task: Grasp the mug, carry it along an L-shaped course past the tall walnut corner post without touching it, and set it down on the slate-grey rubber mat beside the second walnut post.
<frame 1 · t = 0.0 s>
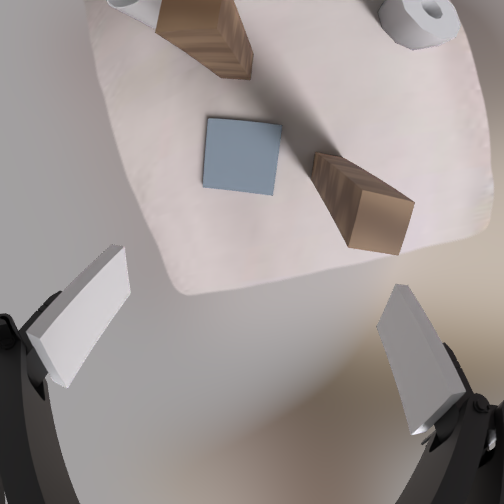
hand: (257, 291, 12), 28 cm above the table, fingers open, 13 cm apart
mug: (177, 15, 27), on the table
toilet tissue: (413, 26, 24), on the table
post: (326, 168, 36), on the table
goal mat: (241, 155, 36), on the table
corner post: (237, 65, 31), on the table
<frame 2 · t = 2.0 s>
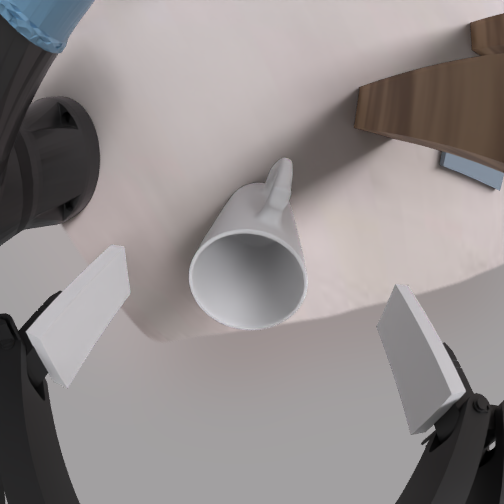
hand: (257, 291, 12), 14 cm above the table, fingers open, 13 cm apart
mug: (265, 198, 25), on the table
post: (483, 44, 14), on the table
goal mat: (479, 135, 19), on the table
corner post: (377, 112, 20), on the table
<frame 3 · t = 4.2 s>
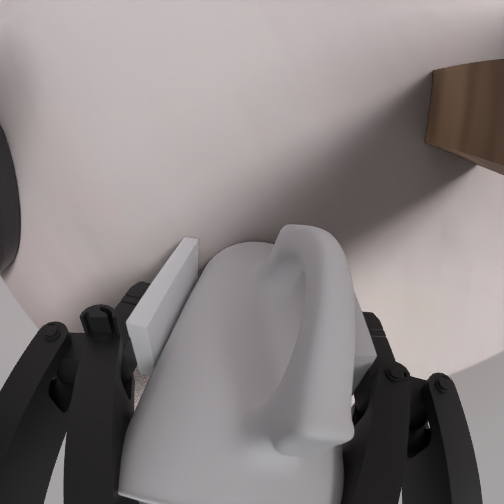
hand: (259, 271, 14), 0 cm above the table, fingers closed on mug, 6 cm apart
mug: (267, 266, 15), on the table, touching gripper
corner post: (459, 118, 10), on the table
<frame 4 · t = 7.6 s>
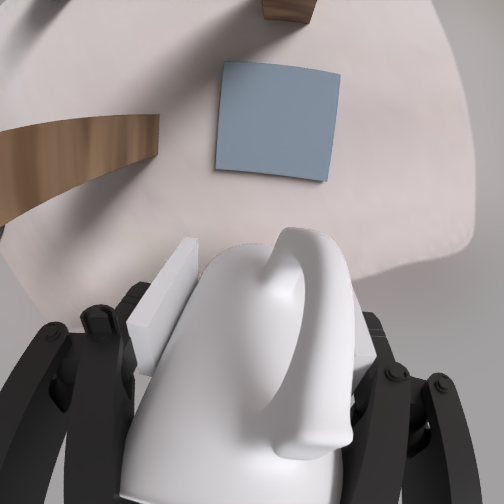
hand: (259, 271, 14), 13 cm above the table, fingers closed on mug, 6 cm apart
mug: (267, 268, 15), point 12 cm above the table, touching gripper
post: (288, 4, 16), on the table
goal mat: (277, 118, 22), on the table
corner post: (140, 135, 23), on the table
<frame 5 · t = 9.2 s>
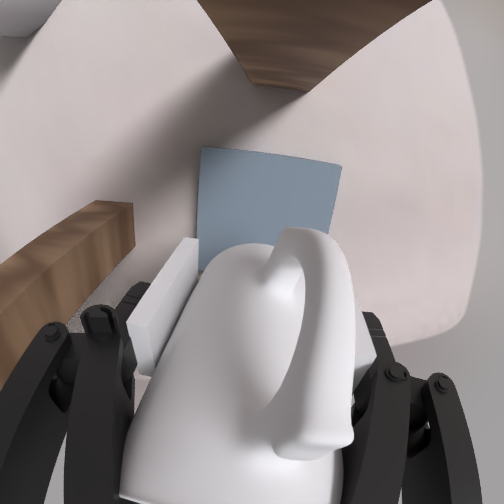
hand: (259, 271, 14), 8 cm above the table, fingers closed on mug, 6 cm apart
mug: (267, 267, 15), point 7 cm above the table, touching gripper
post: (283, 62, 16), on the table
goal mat: (263, 217, 21), on the table
corner post: (115, 222, 22), on the table
when the fingers open (2 cm above the table, at t = 10.9 s): mug moves 1 cm, resting on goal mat.
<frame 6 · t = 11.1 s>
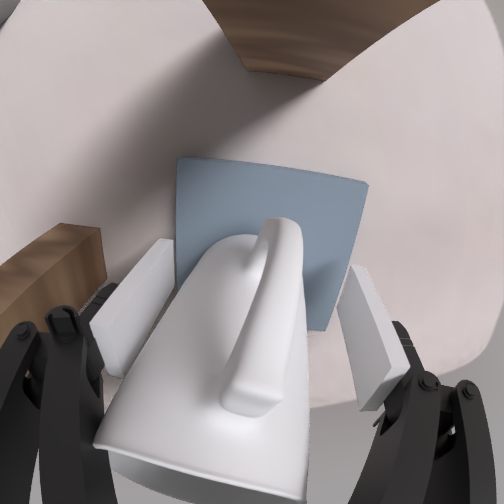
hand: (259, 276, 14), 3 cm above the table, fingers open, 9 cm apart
mug: (259, 257, 15), point 1 cm above the table, touching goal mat
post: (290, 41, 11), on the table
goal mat: (262, 250, 16), on the table
corner post: (82, 250, 17), on the table
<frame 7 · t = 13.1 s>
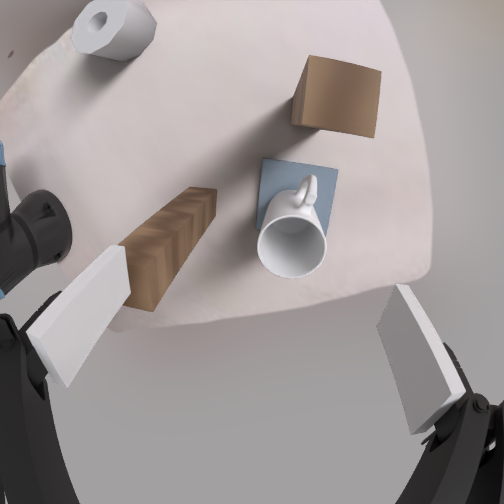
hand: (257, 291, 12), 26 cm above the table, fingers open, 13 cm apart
mug: (295, 200, 36), point 1 cm above the table, touching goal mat
toilet tissue: (130, 28, 27), on the table
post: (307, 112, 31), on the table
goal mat: (295, 198, 37), on the table
corner post: (202, 201, 39), on the table
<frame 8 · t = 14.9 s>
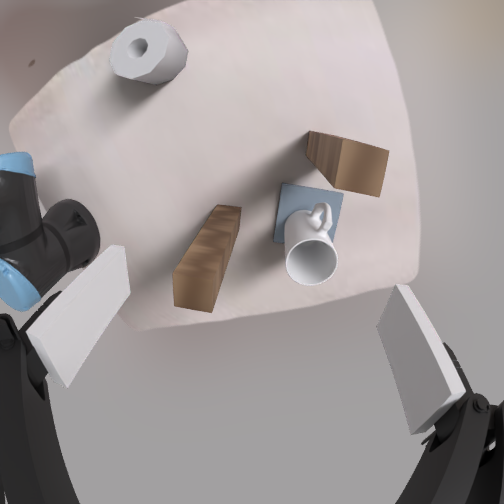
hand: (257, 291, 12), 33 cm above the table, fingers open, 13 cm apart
mug: (307, 218, 44), point 1 cm above the table, touching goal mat
toilet tissue: (161, 51, 34), on the table
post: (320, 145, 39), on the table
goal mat: (307, 216, 45), on the table
corner post: (228, 217, 46), on the table
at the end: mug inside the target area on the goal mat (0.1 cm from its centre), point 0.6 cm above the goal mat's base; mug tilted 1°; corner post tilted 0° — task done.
